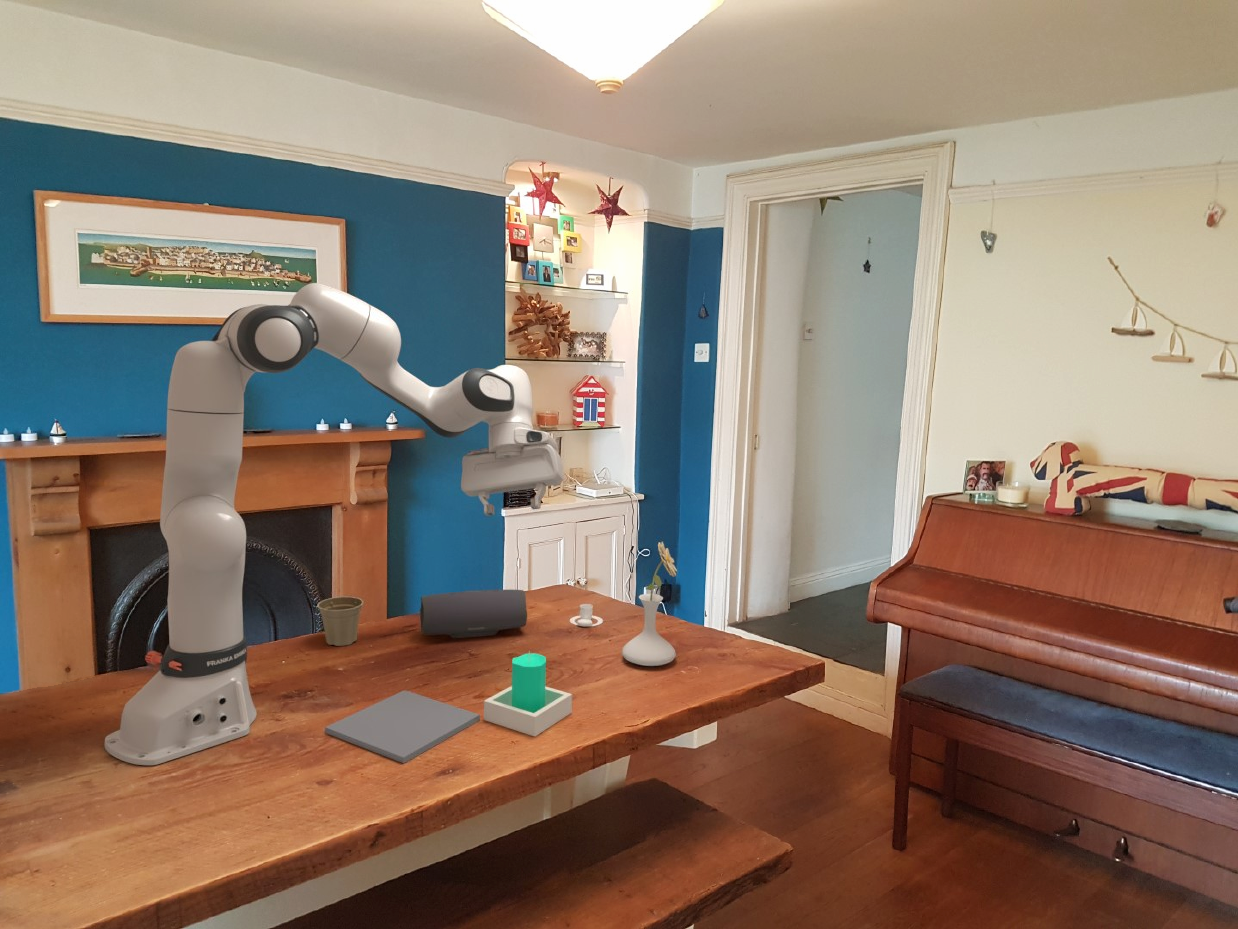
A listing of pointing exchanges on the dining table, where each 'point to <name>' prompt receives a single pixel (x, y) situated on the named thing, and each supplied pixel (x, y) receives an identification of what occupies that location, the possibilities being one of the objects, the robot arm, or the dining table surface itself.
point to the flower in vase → (652, 625)
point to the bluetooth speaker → (473, 612)
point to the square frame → (524, 721)
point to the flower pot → (340, 619)
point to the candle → (529, 682)
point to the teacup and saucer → (586, 616)
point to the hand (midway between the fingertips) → (512, 511)
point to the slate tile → (402, 725)
